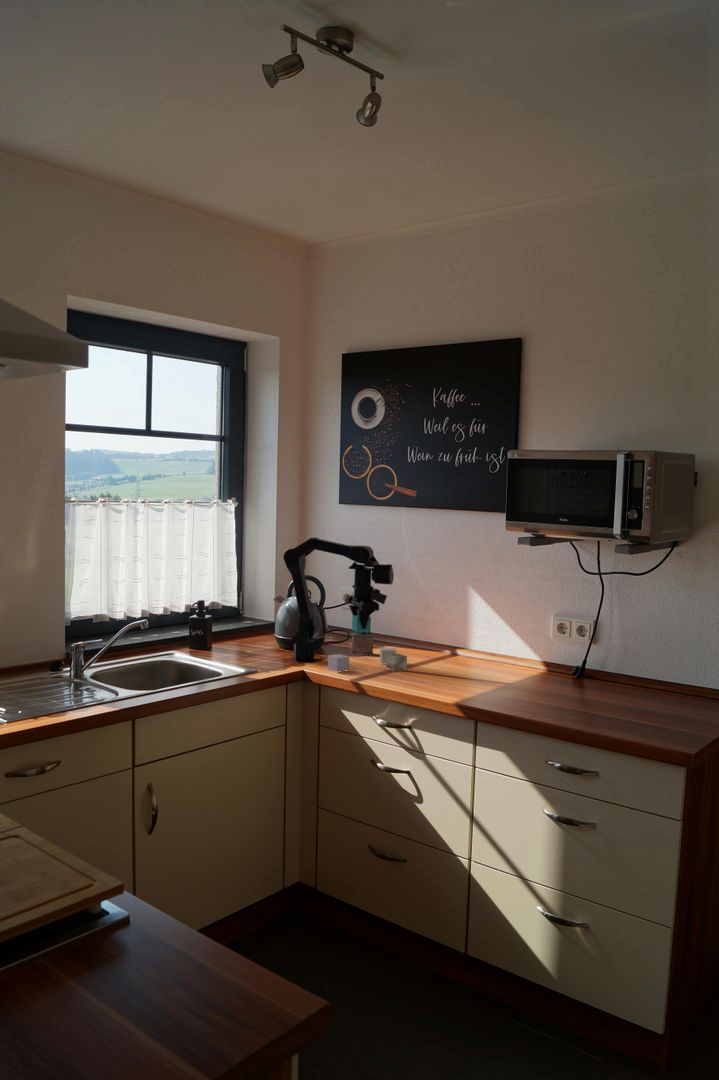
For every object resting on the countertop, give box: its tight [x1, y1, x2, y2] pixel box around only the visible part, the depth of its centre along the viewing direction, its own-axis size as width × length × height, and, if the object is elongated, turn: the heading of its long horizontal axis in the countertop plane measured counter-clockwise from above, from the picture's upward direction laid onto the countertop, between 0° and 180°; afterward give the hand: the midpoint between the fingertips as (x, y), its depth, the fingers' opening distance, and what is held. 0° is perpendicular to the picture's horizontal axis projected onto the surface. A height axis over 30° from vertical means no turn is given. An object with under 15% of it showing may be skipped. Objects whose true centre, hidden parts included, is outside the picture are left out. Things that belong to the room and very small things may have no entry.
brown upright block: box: [350, 630, 375, 656], centre depth 320 cm, size 8×3×10 cm, turn 84°
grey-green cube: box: [385, 653, 408, 671], centre depth 296 cm, size 5×5×5 cm
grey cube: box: [379, 646, 397, 664], centre depth 307 cm, size 5×5×5 cm
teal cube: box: [351, 615, 372, 633], centre depth 301 cm, size 5×5×5 cm
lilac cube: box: [327, 653, 350, 672], centre depth 292 cm, size 5×5×5 cm
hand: (361, 627), depth 301 cm, fingers closed on teal cube, 5 cm apart
